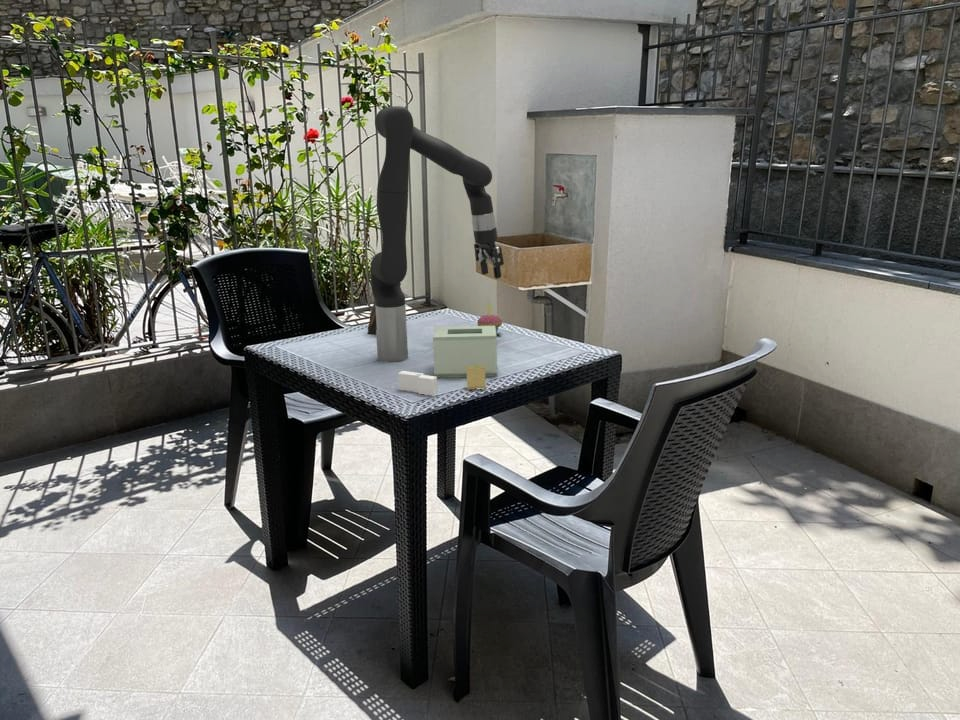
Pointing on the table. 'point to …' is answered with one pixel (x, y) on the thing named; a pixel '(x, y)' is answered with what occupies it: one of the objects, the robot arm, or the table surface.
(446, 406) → the table surface
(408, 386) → the napkin holder
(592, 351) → the table surface
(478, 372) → the tan brushed block
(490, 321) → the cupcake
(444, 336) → the box
